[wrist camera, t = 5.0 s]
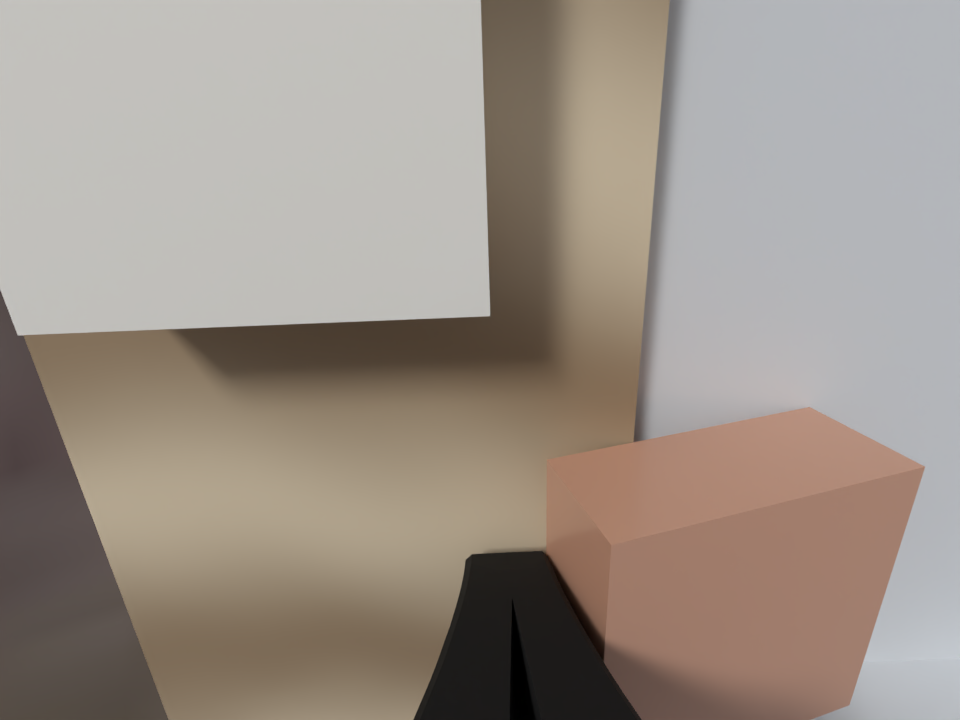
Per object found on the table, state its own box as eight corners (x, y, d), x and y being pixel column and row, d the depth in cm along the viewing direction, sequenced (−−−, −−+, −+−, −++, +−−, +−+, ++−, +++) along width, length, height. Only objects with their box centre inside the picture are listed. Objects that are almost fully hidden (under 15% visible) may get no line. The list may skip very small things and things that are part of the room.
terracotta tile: (764, 617, 11) (849, 705, 10) (545, 685, 10) (594, 800, 8) (809, 406, 9) (924, 466, 8) (547, 459, 8) (610, 545, 6)
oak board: (595, 698, 13) (607, 751, 11) (212, 715, 13) (188, 770, 11) (670, -438, 6) (715, -572, 5) (-158, -409, 6) (-307, -539, 5)
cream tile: (484, 273, 8) (490, 315, 6) (129, 288, 8) (18, 335, 6) (469, -194, 6) (470, -358, 4) (-6, -176, 6) (-236, -332, 4)
